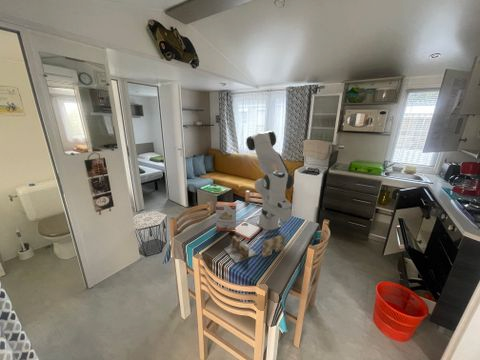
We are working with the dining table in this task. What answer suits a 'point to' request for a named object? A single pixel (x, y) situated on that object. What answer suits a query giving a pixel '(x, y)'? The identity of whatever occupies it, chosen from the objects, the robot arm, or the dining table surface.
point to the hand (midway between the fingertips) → (275, 221)
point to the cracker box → (225, 216)
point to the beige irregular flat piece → (273, 245)
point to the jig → (239, 250)
